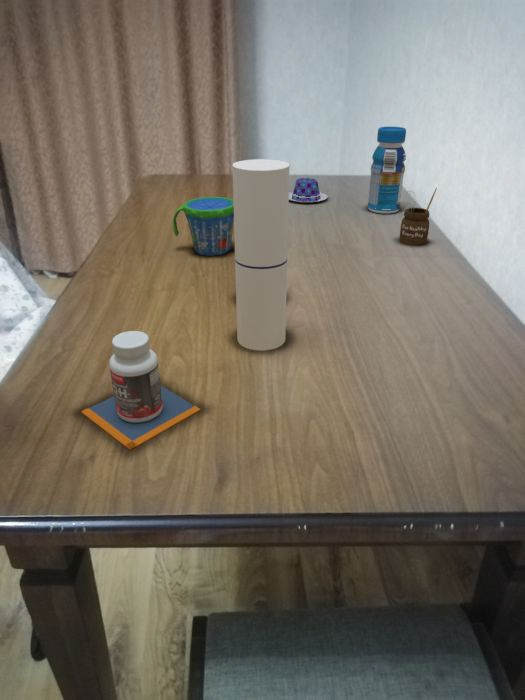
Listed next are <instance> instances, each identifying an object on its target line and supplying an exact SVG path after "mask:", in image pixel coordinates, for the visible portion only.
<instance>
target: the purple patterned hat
mask: <svg viewBox="0 0 525 700" xmlns="http://www.w3.org/2000/svg"><path fill="white" fill-rule="evenodd" d="M293 194H296V195H298V196H305V197H311V196H317V195H318V194H320V196H318V197H315V198H313V197H312V198H299V197H296V196H293ZM328 198H329V197H328V195H327V194H325V193H322V192H321V191H320V187H319V182H318V180H317V179H315V178H312V177H301V178H298V179H296V181H295V183H294V187H293V191H289V201H293V202H296V203H306V204H307V203H316V202H322V201H324V200H325V201H326V199H328Z"/></svg>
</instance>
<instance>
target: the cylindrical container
mask: <svg viewBox="0 0 525 700" xmlns="http://www.w3.org/2000/svg"><path fill="white" fill-rule="evenodd" d="M289 193H290V163H289V162H286V161H283V160H279V159H268V158H253V159H252V158H251V159H246V160H245V159H243V160H238V161H236V162H233V163H232V196H233V198H232V200H233V202H234V221H233V229H234V230H233V232H234V233H233V234H234V238H233V239H234V265H235V266H234V268H235V269H234V270H235V271H234V272H235V303H236V304H235V306H236V307H235V308H236V309H235V310H236V337H237V338H236V340H237V343H238V344H239V345H240V346H242V347H243V348H245V349H248V350H251V351H252V350H253V351H270V350H275V349H278V348H279V347H281V346H282V345H284V343H285V342H286V335H287V333H286V331H287V295H288V294H287V293H288V292H287V290H288V288H287V287H288V253H289V251H288V250H289V249H288V248H289V247H288V245H289V206H290V204H289V203H290V202H289V201H290V200H289Z"/></svg>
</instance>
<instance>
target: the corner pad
mask: <svg viewBox="0 0 525 700" xmlns="http://www.w3.org/2000/svg"><path fill="white" fill-rule="evenodd" d="M161 392H162V402H163V408H162V411H161V412H160V414H159V415H158V416H156V417H155V418H153V419H151V420H149V421H145V422H139V423H133V422H128V421H125V420H123V419H122V418H120V417H119V415H118V413H117V409H116V403H115V397H114V395H113V396H111V397H109V398H107V399H105V400H103V401H101V402H98V403H96V404H95V405H93V406H90V407H88V408H85V409H83V410H81V414H82V415H84V416H85V417H86V418H87V419H88V420H90V421H91V422H92V423H94V424H95V425H96V426H98V428H100V429H101V430H102V431H104V432H105V433H107V434H108V435H109V436H110V437H112V438H113V439H114V440H116V441H117V442H118V443H120V445H122V446H123V447H125V448H126V449H127V450H129V451H130V452H131V451H133V450H134V449H137V448H138V447H140V446H142V445H143V444H145V443H147V442H149V441H150V440H152V439H154V438H155V437H157V436H159V435H161V434H163V433H164V432H166V431H167V430H169V429H171V428H173V427H175V426H176V425H178V424H180V423H181V422H184V421H185V420H187V419H189V418H190V417H192V416H194V415H195V414H197V413H199V412H200V411H202V410H201V408H199V407H197V406H196V405H194V404H192V403H190V402H189V401H188V400H186V399H184V398H182V397H181V396H179V395H177V394H176V393H174V392H172V391H171V390H169V389H168V388H166V387H164V386H163V385H161Z"/></svg>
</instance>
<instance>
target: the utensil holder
mask: <svg viewBox="0 0 525 700" xmlns="http://www.w3.org/2000/svg"><path fill="white" fill-rule="evenodd" d="M437 189H438V187H437V186H436V187H435V189H434V192H433V194H432V196H431V198H430V200H429V203H428V205H427V207H426V208H422V207H416V202H413V206H412V207H408V206H409V204H408V203H406V204H404V205H405V207H406V209H405V210H404V211H403V212H404V213H403V216H404V217H403V218H402V220H401V223H400V229H399V230H400V231H399V242H400V243H401V244H403V245H406V246H411V247H420V246H424V245H426V243H427V241H428V237H429V230H430V220H429V217H430V211H429V208H430V207H431V204H432V202H433V200H434V197H435V195H436V192H437ZM408 192H409V194H408ZM407 194H408V196H409V197H408V198H409V200H408V201H411V196H413V197H412V198H413V199H416V197H417V196H416V194H415V191H412V192H411V190H408V191H406V192H405V193H404V195H407ZM411 194H414V195H411Z"/></svg>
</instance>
